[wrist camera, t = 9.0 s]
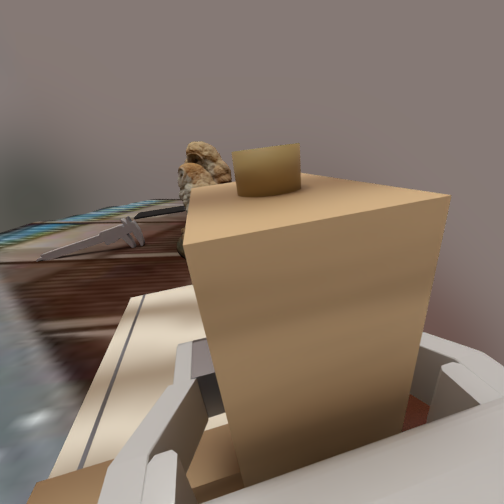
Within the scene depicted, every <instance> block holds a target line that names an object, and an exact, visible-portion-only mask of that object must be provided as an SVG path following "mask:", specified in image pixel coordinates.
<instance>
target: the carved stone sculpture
mask: <svg viewBox="0 0 504 504" xmlns="http://www.w3.org/2000/svg"><path fill="white" fill-rule="evenodd" d="M186 154H187V159H186V160H185V164H183V165H181V166H180V167H179V170H178V175H179V176H178V186H179V187H180V193H179V198H180V199H181V200H182V201H183V204H184V206H185V209H186V212H187V214H188V208H189V201H190V195H191V188H197V187H204V186H211V185H217V184H224V183H230V182H232V181H231V179H232V178H231V170H230V169H229V166H228V165H227V164H226V163H225V162H224V161H222V159H221V156H220V154H219V153H218V152H217V150H216V148H215V147H213V146H212V145H210V144H207V143H205V142H191V143H190V144H188V147H187V149H186ZM181 232H182V233H183V234H182V235H181V237H180V238H179V240H178V242H177V250H178V252H179V253H180V255H181V256H182V257H184V258H186V256H185V252H184V248H183V240H184V234H185V228H182V230H181Z"/></svg>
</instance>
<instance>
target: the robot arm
mask: <svg viewBox="0 0 504 504" xmlns="http://www.w3.org/2000/svg"><path fill="white" fill-rule="evenodd" d="M410 394H411V395H413V396H415V397H416V398H418V399H420V400H421V401H423V402H424V403H426V404H428V405H429V406H430V409H429V413H428V416H427V424H424V425H421V426H419V427H416V428H413V429H410V430H407V431H404V432H402V433H399V434H396V435H393V436H390V437H387V438H385V439H382V440H379V441H376V442H373V443H370V444H368V445H365V446H362V447H359V448H356V449H353V450H351V451H348V452H345V453H342V454H339V455H336V456H334V457H331V458H328V459H325V460H322V461H320V462H317V463H314V464H311V465H308V466H305V467H303V468H300V469H297V470H294V471H291V472H288V473H286V474H283V475H280V476H277V477H274V478H272V479H269V480H266V481H263V482H260V483H257V484H255V485H252V486H249V487H246V488H243V489H240V490H238V491H235V492H232V493H229V494H226V495H223V496H221V497H218V498H215V499H212V500H209V501H207V502H204V503H201V504H504V366H502V365H501V364H499V363H498V362H496V361H495V360H493V359H492V358H490V357H489V356H487V355H486V354H484V353H483V352H481V351H478V350H475V349H472V348H469V347H466V346H463V345H460V344H457V343H454V342H451V341H448V340H445V339H442V338H439V337H436V336H433V335H430V334H427V333H424V332H422V337H421V342H420V346H419V351H418V356H417V361H416V365H415V370H414V375H413V380H412V384H411V389H410ZM222 413H225V409H224V405H223V401H222V397H221V393H220V389H219V385H218V382H217V378H216V374H215V370H214V366H213V362H212V358H211V354H210V350H209V346H208V342H207V338H202V339H198V340H193V341H190V342H185V343H181V344H178V346H177V350H176V360H175V370H174V379H173V385H169V386H168V387H167V388H166V389H165V391H164V392H163V394H162V395H161V396H160V398H159V399H158V400H157V402H156V403H155V404H154V406H153V407H152V408H151V410H150V411H149V413H148V414H147V415H146V417H145V418H144V419H143V421H142V422H141V423H140V425H139V426H138V427H137V429H136V430H135V432H134V433H133V434H132V436H131V437H130V438H129V440H128V441H127V442H126V444H125V445H124V446H123V448H122V449H121V451H120V452H119V453H118V455H117V456H116V457H115V459H114V460H113V461H112V463H111V464H110V465H109V467H108V469H107V472H106V476H105V479H104V483H103V486H102V490H101V493H100V497H99V500H98V504H198V502H197V500H196V498H195V495H194V493H193V490H192V488H191V486H190V483H189V481H188V478H187V476H186V473H187V471H188V469H189V466H190V464H191V461H192V459H193V457H194V454H195V452H196V449H197V447H198V445H199V442H200V440H201V437H202V435H203V432H204V430H205V428H206V425H207V423H208V420H209V419H208V418H210V417H213V416H216V415H219V414H222Z"/></svg>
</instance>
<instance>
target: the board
mask: <svg viewBox="0 0 504 504" xmlns="http://www.w3.org/2000/svg"><path fill="white" fill-rule="evenodd" d="M202 338H206V335H205V331H204V327H203V323H202V319H201V315H200V311H199V307H198V303H197V299H196V295H195V291H194V287H193V285H189V286H185V287H180V288H175V289H170V290H166V291H161V292H156V293H152V294H147V295H146V294H145V295H142V296H137V297H133V298H131V299H130V301H129V304H128V306H127V308H126V310H125V312H124V315H123V317H122V319H121V321H120V323H119V325H118V328H117V330H116V332H115V334H114V336H113V339H112V341H111V343H110V345H109V347H108V349H107V352H106V354H105V356H104V358H103V360H102V363H101V365H100V367H99V369H98V371H97V373H96V376H95V378H94V380H93V382H92V384H91V387H90V389H89V391H88V393H87V395H86V397H85V400H84V402H83V404H82V406H81V408H80V411H79V413H78V415H77V417H76V419H75V422H74V424H73V426H72V428H71V430H70V432H69V435H68V437H67V439H66V441H65V443H64V446H63V448H62V450H61V452H60V454H59V456H58V459H57V461H56V463H55V465H54V467H53V470H52V472H51V474H50V476H49V478H48V479H50V478H53V477H56V476H60V475H63V474H66V473H69V472H73V471H76V470H79V469H82V468H86V467H89V466H92V465H95V464H99V463H102V462H105V461H108V460H112V459H115V457H116V456H117V455H118V453H119V452H120V451H121V449H122V448H123V446H124V445H125V444H126V442H127V441H128V440H129V438H130V437H131V436H132V434H133V433H134V432H135V430H136V429H137V427H138V426H139V425H140V423H141V422H142V421H143V419H144V418H145V417H146V415H147V414H148V413H149V411H150V410H151V408H152V407H153V406H154V404H155V403H156V402H157V400H158V399H159V398H160V396H161V395H162V394H163V392H164V391H165V389H166V388H167V387H168V386H169V385H173V379H174V370H175V360H176V350H177V346H178V344H181V343H185V342H190V341H193V340H198V339H202ZM208 419H209V420H208V423H207V425H206V428H205V430H204V431H206V430H209V429H212V428H215V427H219V426H222V425H225V424H228V421H227V417H226V413H222V414H219V415H216V416H213V417H210V418H208Z"/></svg>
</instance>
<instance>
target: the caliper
mask: <svg viewBox="0 0 504 504" xmlns="http://www.w3.org/2000/svg"><path fill="white" fill-rule="evenodd" d="M120 220H121V222H122V223H123V224H121V225H118V226H115V227H113V228H110V229H107V230H104V231H101V232H100V233H99V235H97V236H94V237H91V238H88V239H85V240H82V241H79V242H76V243H73V244H70V245H67V246H64V247H61V248H58V249H55V250H52V251H49V252H46V253H44V254H42V255H40V256H41V257H40V258H38V259H37V260H36V261H41V260H51V259H55V258H58V257H60V256H63V255H66V254H69V253H72V252H75V251H78V250H81V249H84V248H87V247H90V246H93V245H96V244H99V243H102V242H105V243H106V245H109V244H110V243H115V242H116V241H117V240H118V239H120V238H122V239H123V240H124V241H125V242H127V243H128V244H129V245H130V246H131V247H132V248H134V247H136V246H137V245H136V244H135V241H134V240H133V238H132V237H131V235H130V234H129V233H131V232H133V234H134V235H135V237H136V238H137V240H138V241H139V243H140V245H141V246H143V245H144V243H145V241H144V238H143V234H142V231H141V229H140V227H139V226H138V224H137V223H136V221H131V219H130V217H129V216H128V217H126V220H125V219H124V218H122V219H120Z"/></svg>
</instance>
